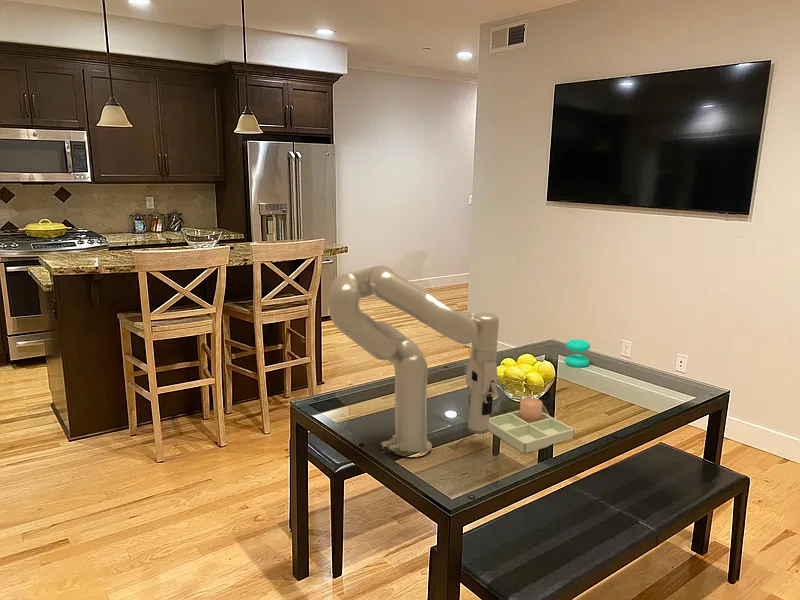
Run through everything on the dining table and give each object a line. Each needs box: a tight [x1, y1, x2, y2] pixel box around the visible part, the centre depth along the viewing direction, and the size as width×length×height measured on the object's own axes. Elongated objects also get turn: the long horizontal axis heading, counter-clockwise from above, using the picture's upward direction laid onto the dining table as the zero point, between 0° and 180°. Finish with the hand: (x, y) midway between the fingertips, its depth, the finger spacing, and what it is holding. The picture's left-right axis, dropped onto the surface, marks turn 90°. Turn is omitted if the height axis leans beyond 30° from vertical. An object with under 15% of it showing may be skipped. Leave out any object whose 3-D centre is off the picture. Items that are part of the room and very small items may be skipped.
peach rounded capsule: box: [519, 397, 543, 423], centre depth 194 cm, size 7×7×8 cm
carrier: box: [488, 409, 575, 454], centre depth 188 cm, size 20×20×4 cm
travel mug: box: [467, 371, 491, 435], centre depth 180 cm, size 6×7×20 cm
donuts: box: [564, 338, 591, 368], centre depth 254 cm, size 10×10×10 cm
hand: (479, 409), depth 181 cm, fingers closed on travel mug, 6 cm apart
